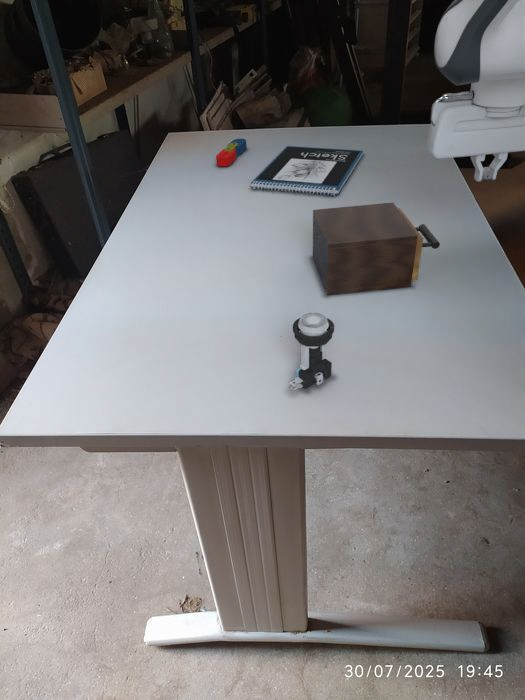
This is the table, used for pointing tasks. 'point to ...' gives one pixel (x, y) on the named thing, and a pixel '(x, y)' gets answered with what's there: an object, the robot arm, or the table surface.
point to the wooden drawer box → (363, 248)
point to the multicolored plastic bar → (231, 152)
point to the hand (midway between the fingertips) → (484, 179)
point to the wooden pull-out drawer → (421, 243)
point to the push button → (312, 349)
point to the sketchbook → (309, 170)
